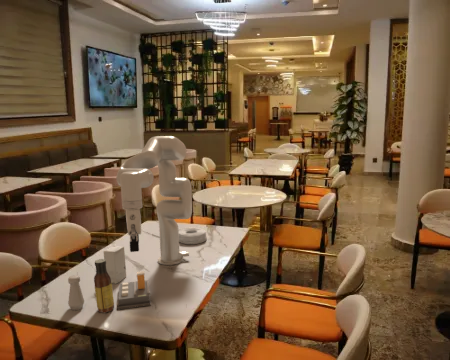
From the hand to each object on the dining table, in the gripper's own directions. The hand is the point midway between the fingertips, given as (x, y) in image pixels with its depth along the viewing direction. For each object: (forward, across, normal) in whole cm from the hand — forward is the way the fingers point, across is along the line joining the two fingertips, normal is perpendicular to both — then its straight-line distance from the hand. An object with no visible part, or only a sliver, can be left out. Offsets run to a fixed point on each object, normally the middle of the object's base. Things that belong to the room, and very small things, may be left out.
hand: (134, 247), depth 152 cm
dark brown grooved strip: (+23, -3, +1) cm, 23 cm away
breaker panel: (+23, +6, +2) cm, 24 cm away
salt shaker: (+23, +2, +23) cm, 33 cm away
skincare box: (+23, +25, +10) cm, 35 cm away
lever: (+20, +6, -1) cm, 21 cm away
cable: (+23, +71, -31) cm, 81 cm away
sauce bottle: (+23, -2, +12) cm, 27 cm away
